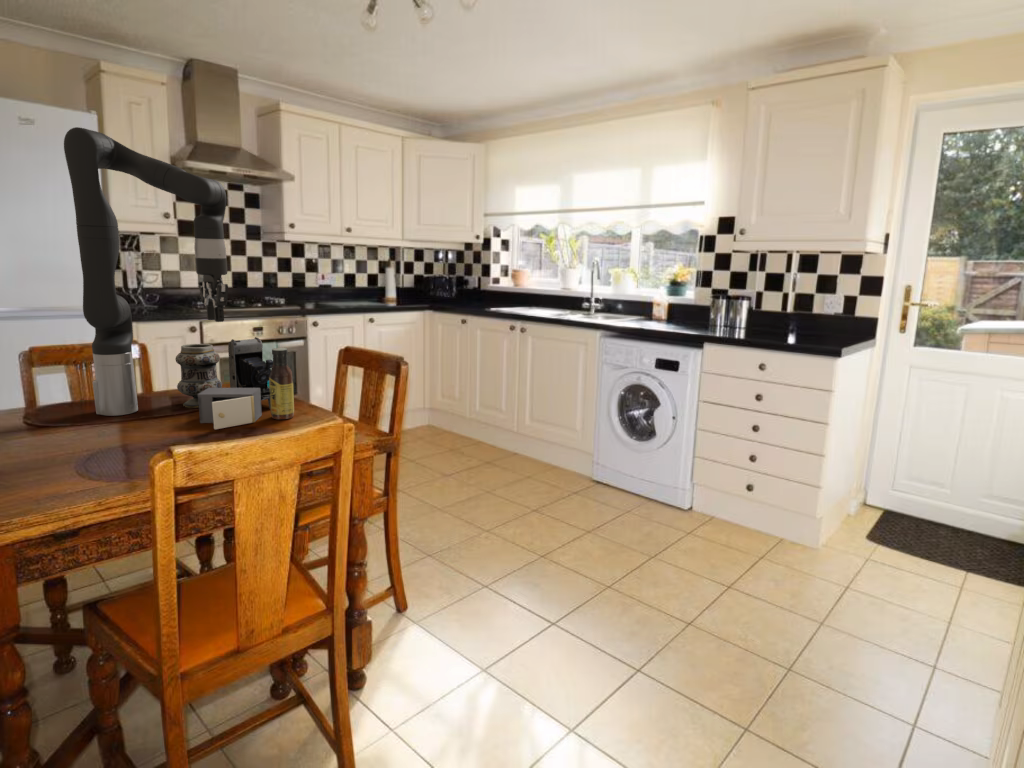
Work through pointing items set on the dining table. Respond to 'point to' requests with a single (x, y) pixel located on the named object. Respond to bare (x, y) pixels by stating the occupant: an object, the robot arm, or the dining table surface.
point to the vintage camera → (249, 366)
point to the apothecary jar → (197, 371)
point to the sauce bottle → (281, 386)
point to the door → (233, 412)
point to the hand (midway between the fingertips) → (215, 320)
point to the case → (225, 394)
